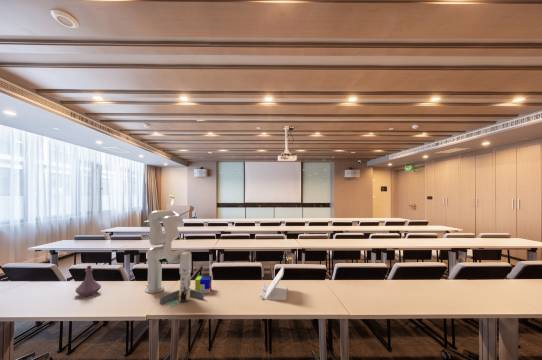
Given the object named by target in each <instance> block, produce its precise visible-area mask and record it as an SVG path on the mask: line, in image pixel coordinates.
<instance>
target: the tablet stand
mask: <svg viewBox="0 0 542 360" xmlns="http://www.w3.org/2000/svg"><path fill="white" fill-rule="evenodd" d="M284 272H285V266H284V265H282V266H281V267H280V270H279V271H278V273H277V274H276V275H275V277H274V279H273V280H272V281H271V283H270V284H269V285H267V284H265V283H264V284H263V285H262V289H261V291H260V293H259V297H260V298H262V299H263V300H265V301H266V300H267V301H268V300H269V301H272V300H273V301H274V300H275V301H286V300H287V294H288V293H287V292H288V291H287V289H288V288H287V286H277V285H278V284H279V282H280V281H281V280H282V278H283V276H284Z"/></svg>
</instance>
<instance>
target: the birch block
mask: <svg viewBox="0 0 542 360" xmlns="http://www.w3.org/2000/svg"><path fill="white" fill-rule="evenodd" d="M184 289H185V288H184ZM190 289H191V287H189V288H188V289H186V300H185V301H189V300H190V298H191V297H190ZM179 290H180V291H179V298H178V301H182V300H181V289H180V288H179ZM184 291H185V290H184Z"/></svg>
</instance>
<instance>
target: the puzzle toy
mask: <svg viewBox="0 0 542 360" xmlns="http://www.w3.org/2000/svg"><path fill="white" fill-rule="evenodd" d="M194 281H195V282H194V283H195V284H194V290H197V291H201V292H204V294H209V293H210V292H211V291H212V275H197V276H196V278H195V280H194Z"/></svg>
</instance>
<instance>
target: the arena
mask: <svg viewBox="0 0 542 360" xmlns="http://www.w3.org/2000/svg"><path fill="white" fill-rule="evenodd" d="M179 291H180V289H178V290H176V291H172V292H169V293H167V294H164V295H161V296H159V305H163V304H165V305H167V306H170V307H173V306H176V305H179V304H181V302H180V301H179V300H178V301H177V299H179ZM204 297H205V293H204V292H201V291H197V290H195V289H192V288H190V298H194V299H198V300H205V299H204Z"/></svg>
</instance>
